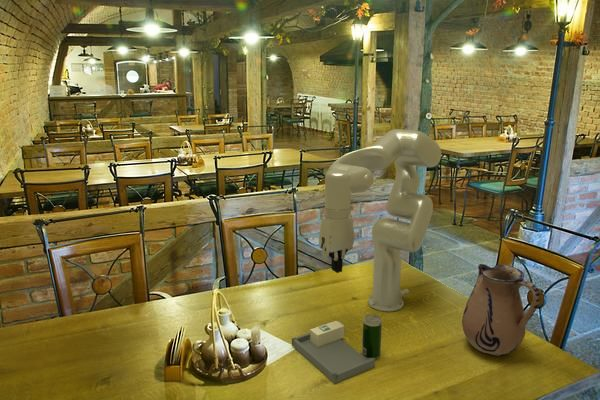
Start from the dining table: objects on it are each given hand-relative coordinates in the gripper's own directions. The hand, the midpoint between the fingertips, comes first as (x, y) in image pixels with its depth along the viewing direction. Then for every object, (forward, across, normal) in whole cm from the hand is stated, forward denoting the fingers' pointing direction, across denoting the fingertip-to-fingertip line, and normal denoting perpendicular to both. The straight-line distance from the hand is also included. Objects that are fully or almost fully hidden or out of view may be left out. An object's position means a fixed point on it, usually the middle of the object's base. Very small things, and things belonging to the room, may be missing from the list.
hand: (336, 270), depth 146 cm
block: (+20, -2, 0) cm, 20 cm away
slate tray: (+23, +7, +7) cm, 25 cm away
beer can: (+23, -3, +13) cm, 27 cm away
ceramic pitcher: (+23, -37, +31) cm, 53 cm away
